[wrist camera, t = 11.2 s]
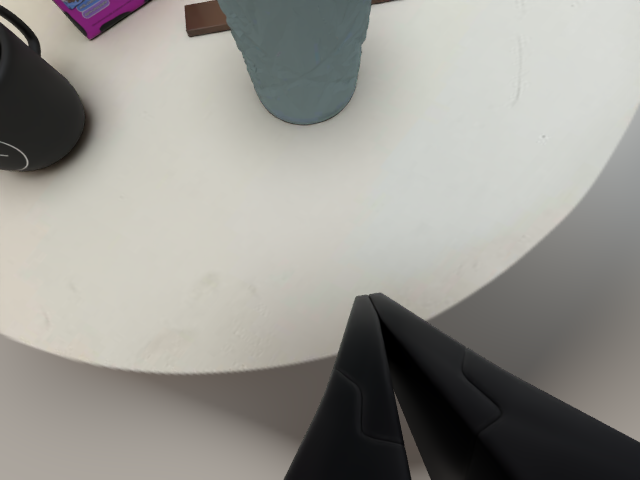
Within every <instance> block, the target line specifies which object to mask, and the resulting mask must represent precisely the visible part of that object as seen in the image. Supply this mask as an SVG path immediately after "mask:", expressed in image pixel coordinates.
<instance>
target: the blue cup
mask: <svg viewBox="0 0 640 480" xmlns="http://www.w3.org/2000/svg"><path fill="white" fill-rule="evenodd" d="M217 1H218V3H219V6H220V8H221V10H222V12H223V13H224V14H225V15H226V17H227V18H226V22H227V24H228V26H229V27H230V28H231V33H232V35H233V37H234V39H235V41H236V44H237V47H238V49H239V50H240V51H241V52H242V55H243V58H244V59H245V61H244V62H245V63H246V65H247V70H248V73H249V75H250V77H251V80H252V82H253V83H254V88H255V90H256V92H257V95H258V97H259V99H260V100H261V102H262V104H263V105H264V106H265V108H266V109H267V110H268V111H269V112H270V113H272V114H273V115H274V116H276V117H277V118H279V119H281V120H284V121H286V122H289V123H294V124H304V125H305V124H314V123H318V122H322V121H325V120H327V119H329V118H331V117H333V116H335V115H336V114H338V113H339V112H340V111H341V110H342V109H343V108H344V107H345V106H346V105H347V103H348V102H349V100H350V99H351V97H352V95H353V93H354V90H355V87H356V82H357V76H358V71H359V66H360V56H361V53H362V51H361V45H362V43H363V42H364V40H365V38H366V32H367V29H368V24H369V15H370V10H371V0H217Z"/></svg>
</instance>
